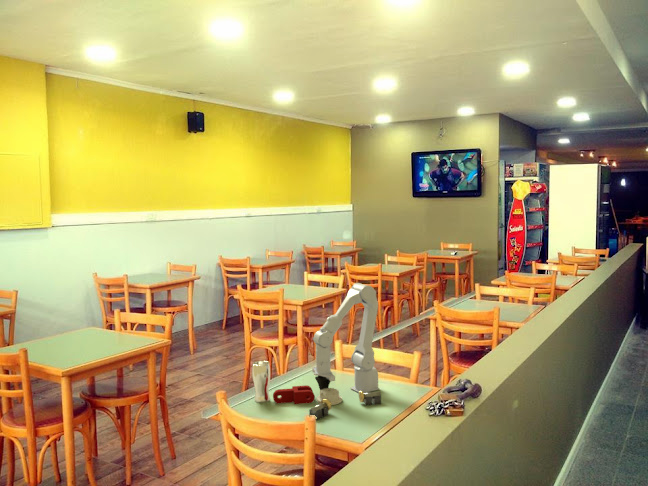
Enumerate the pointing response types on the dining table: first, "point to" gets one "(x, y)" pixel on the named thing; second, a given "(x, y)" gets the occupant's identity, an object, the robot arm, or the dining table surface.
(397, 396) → the dining table surface
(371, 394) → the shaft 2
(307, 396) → the mechanical linkage
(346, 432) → the dining table surface
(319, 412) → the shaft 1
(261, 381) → the beer glass
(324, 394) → the mechanical component
